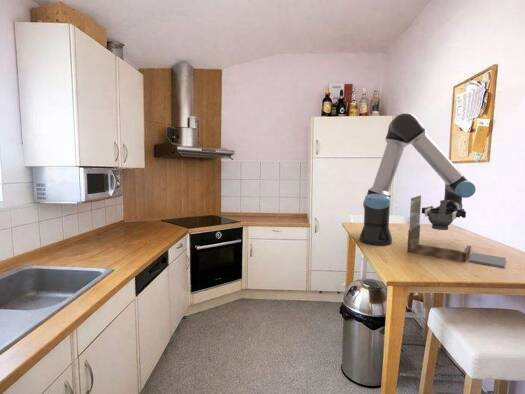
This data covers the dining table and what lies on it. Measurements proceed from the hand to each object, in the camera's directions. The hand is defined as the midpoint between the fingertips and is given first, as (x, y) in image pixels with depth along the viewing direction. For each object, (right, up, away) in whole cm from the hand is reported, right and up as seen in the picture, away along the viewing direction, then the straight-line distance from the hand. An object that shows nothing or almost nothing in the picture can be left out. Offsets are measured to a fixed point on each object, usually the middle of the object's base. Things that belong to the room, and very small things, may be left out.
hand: (439, 214), depth 124 cm
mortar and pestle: (+3, -6, +4) cm, 8 cm away
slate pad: (+16, -18, -6) cm, 25 cm away
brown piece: (+3, -17, +5) cm, 18 cm away
